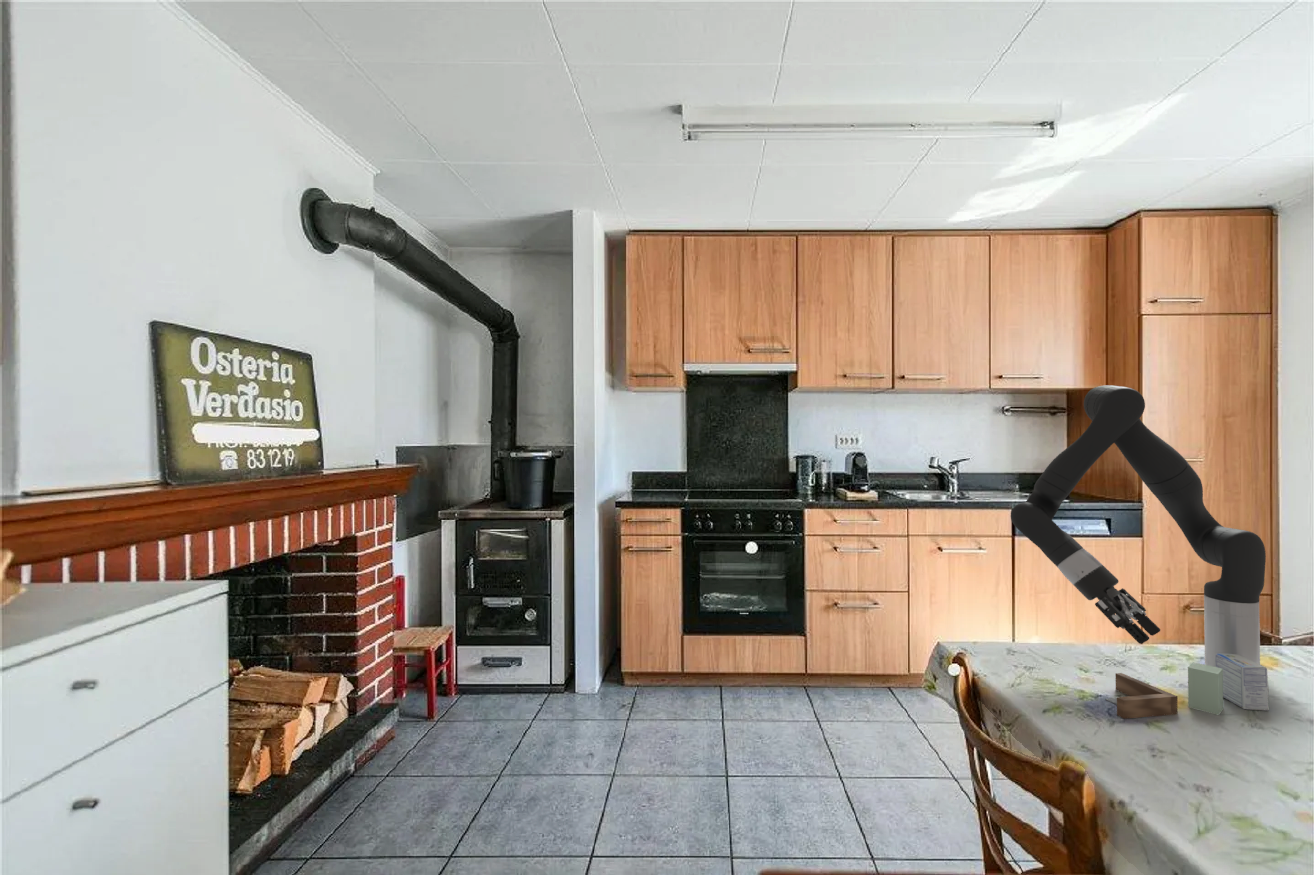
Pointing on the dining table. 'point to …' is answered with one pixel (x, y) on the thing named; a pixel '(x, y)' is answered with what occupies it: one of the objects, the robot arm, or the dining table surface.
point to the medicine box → (1244, 681)
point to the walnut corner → (1142, 699)
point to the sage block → (1205, 688)
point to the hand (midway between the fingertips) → (1151, 637)
